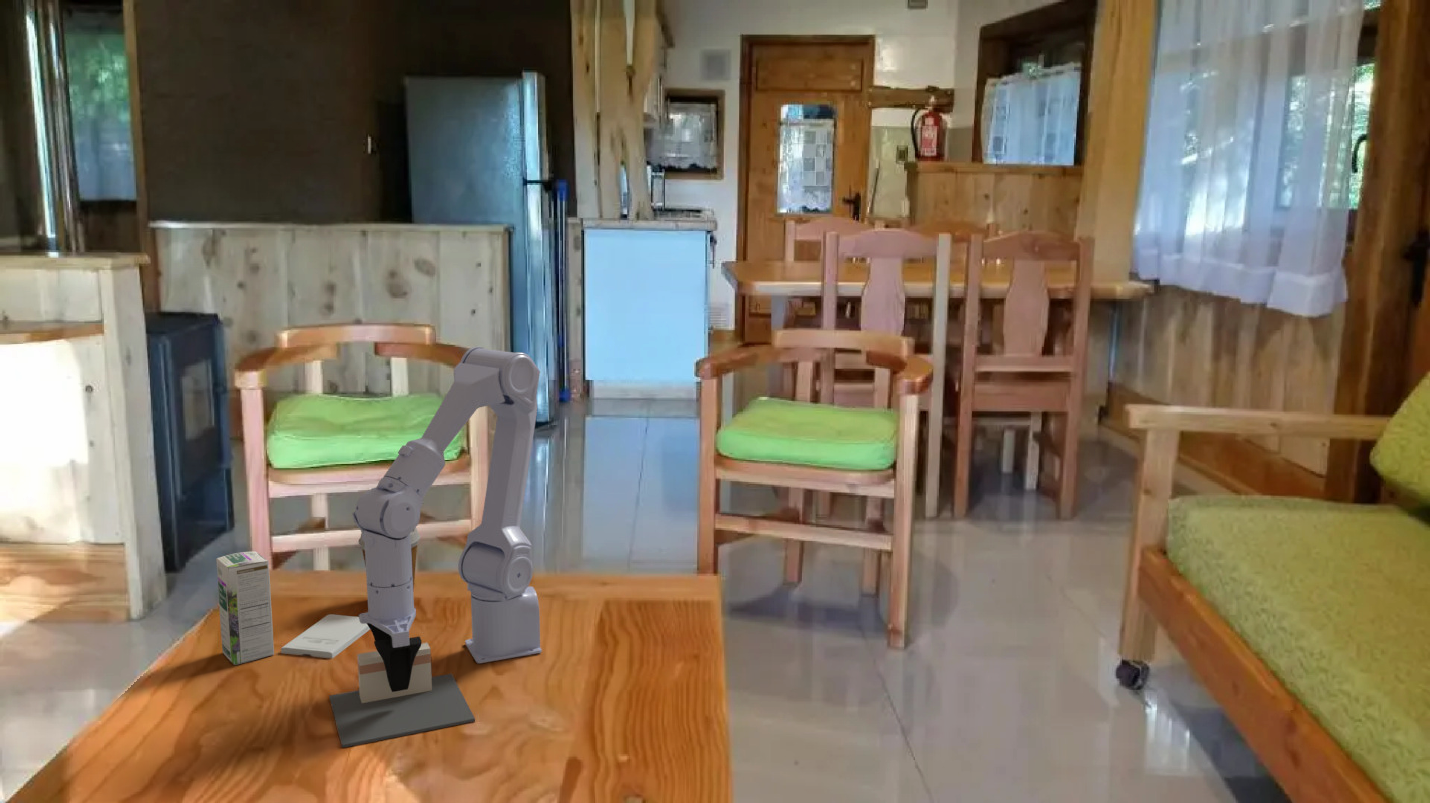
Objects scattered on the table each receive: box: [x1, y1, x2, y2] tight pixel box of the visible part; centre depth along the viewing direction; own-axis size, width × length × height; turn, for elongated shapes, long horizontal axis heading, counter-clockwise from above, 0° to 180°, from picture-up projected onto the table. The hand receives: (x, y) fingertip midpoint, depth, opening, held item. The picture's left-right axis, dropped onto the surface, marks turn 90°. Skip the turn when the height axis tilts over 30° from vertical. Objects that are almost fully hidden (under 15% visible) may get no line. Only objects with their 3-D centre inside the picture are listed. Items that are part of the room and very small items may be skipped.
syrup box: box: [215, 550, 275, 666], centre depth 153 cm, size 6×6×14 cm
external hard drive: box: [280, 614, 371, 659], centre depth 160 cm, size 2×8×12 cm
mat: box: [329, 673, 476, 749], centre depth 139 cm, size 16×14×1 cm
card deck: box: [356, 642, 433, 703], centre depth 142 cm, size 9×2×6 cm, turn 115°
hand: (394, 677), depth 142 cm, fingers open, 7 cm apart
